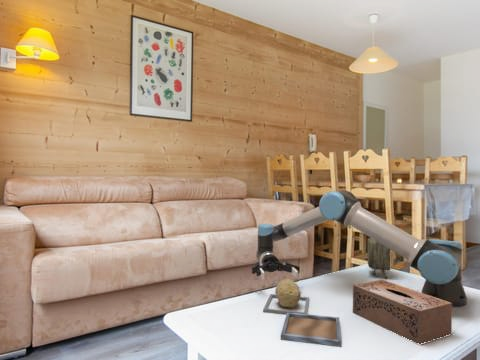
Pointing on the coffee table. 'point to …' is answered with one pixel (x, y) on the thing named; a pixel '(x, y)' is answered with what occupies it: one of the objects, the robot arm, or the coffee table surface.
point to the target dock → (312, 329)
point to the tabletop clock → (378, 256)
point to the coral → (288, 293)
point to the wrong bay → (284, 310)
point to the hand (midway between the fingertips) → (280, 275)
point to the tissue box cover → (403, 310)
